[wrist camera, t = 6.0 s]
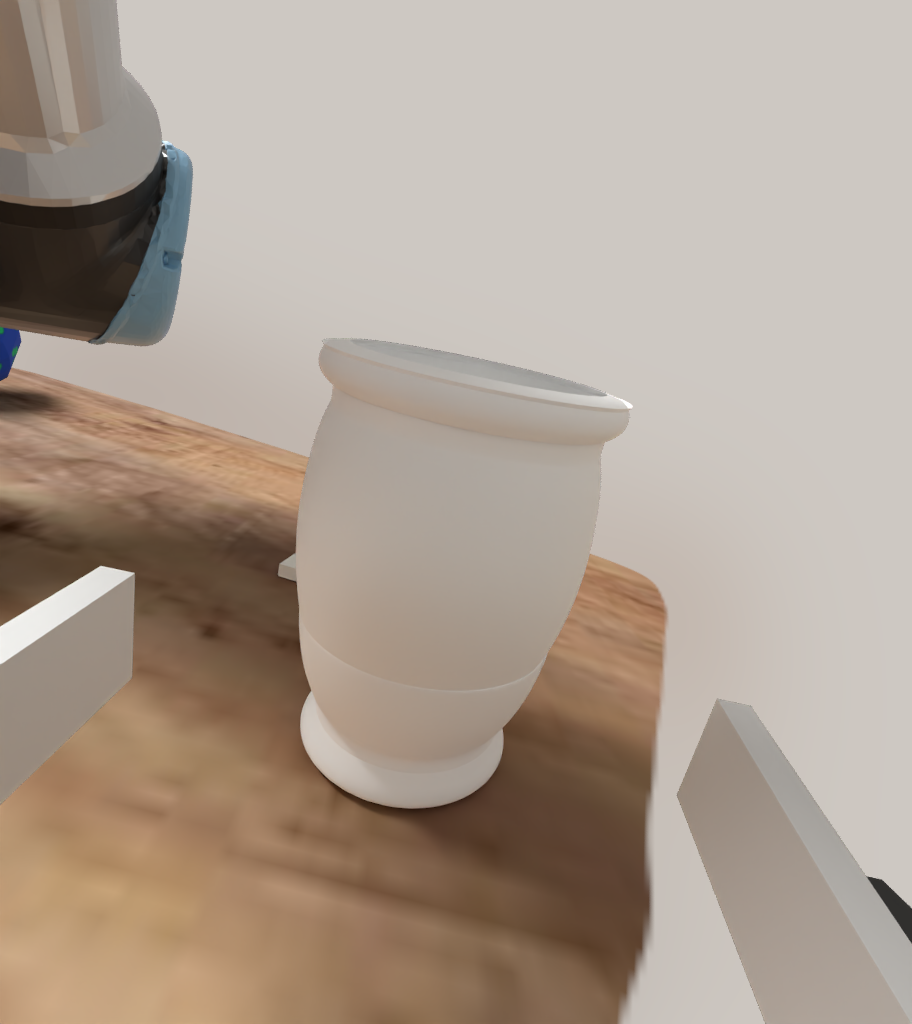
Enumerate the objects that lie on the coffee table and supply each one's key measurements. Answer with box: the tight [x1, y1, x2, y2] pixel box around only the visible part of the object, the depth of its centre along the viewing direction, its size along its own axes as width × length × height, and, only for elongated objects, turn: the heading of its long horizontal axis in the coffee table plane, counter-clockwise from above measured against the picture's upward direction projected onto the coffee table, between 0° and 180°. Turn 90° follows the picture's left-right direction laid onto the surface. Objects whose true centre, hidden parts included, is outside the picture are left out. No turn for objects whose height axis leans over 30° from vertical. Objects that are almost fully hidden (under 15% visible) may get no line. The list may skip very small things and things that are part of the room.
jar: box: [296, 338, 632, 809], centre depth 21 cm, size 11×10×15 cm
